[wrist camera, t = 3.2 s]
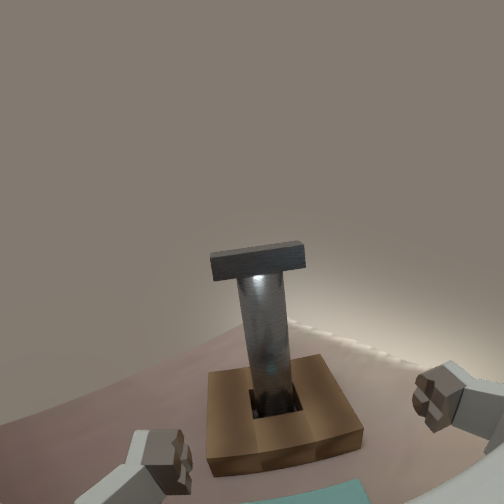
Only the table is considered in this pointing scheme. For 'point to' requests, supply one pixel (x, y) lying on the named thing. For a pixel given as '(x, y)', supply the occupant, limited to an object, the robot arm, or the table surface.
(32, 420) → the table surface
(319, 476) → the table surface
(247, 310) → the gunmetal T-key
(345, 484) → the teal rubber mat
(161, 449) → the robot arm
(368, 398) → the table surface
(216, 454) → the walnut key-slot block
